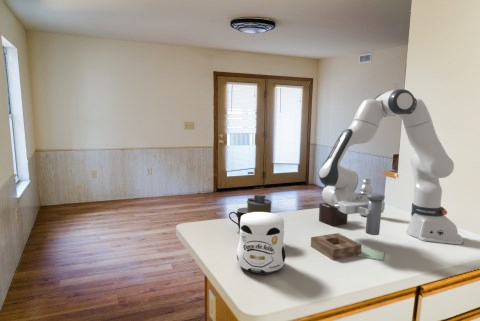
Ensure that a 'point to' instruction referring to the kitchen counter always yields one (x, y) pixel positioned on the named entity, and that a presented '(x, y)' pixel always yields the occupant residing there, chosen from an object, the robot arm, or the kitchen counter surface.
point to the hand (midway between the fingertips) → (376, 211)
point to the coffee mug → (239, 215)
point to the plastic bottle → (366, 190)
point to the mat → (372, 254)
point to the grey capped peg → (374, 213)
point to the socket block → (335, 246)
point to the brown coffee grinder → (331, 215)
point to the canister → (258, 204)
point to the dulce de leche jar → (261, 242)
